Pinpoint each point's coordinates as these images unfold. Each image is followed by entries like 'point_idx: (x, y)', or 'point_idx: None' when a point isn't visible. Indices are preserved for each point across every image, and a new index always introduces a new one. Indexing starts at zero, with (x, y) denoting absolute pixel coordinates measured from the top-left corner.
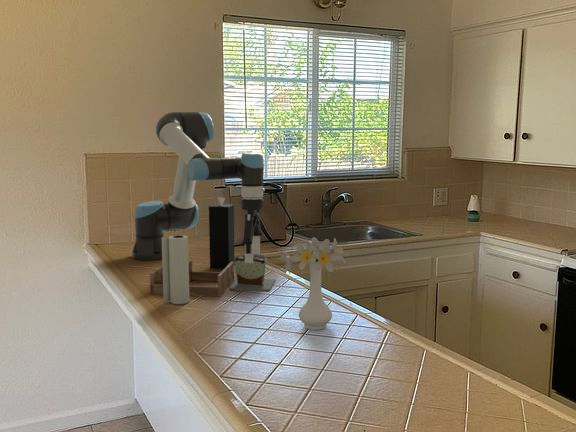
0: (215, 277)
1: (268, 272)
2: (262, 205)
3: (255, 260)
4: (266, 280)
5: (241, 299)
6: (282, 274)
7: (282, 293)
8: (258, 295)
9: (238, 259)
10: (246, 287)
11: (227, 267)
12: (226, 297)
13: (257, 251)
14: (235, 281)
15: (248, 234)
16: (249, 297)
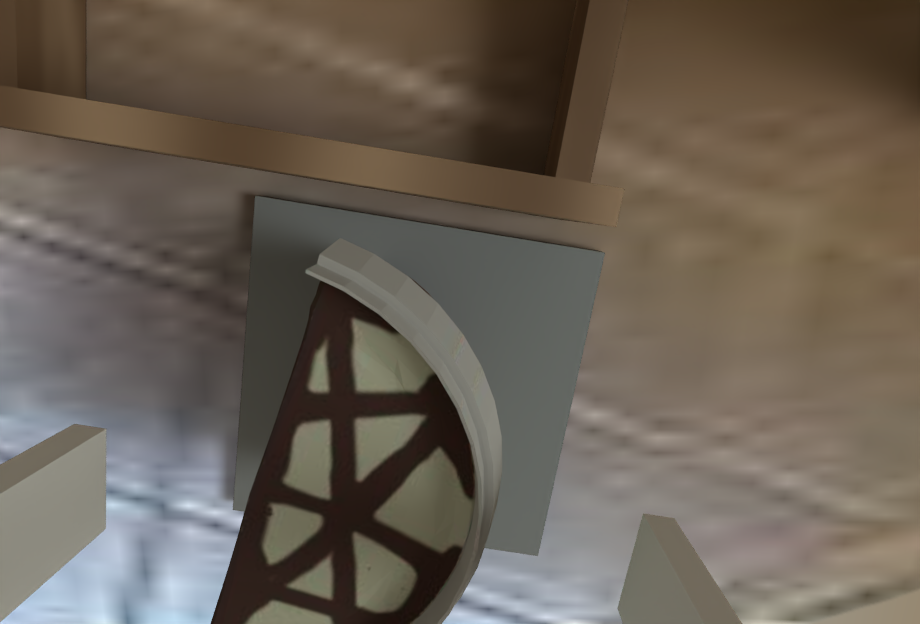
0: (575, 27)
1: (814, 498)
2: None
3: (232, 555)
4: (499, 489)
5: (2, 306)
6: (728, 597)
7: (190, 580)
8: (123, 425)
9: (310, 322)
10: (281, 339)
11: (283, 159)
12: (38, 186)
13: (637, 612)
14: (477, 237)
15: None
16: (63, 363)
